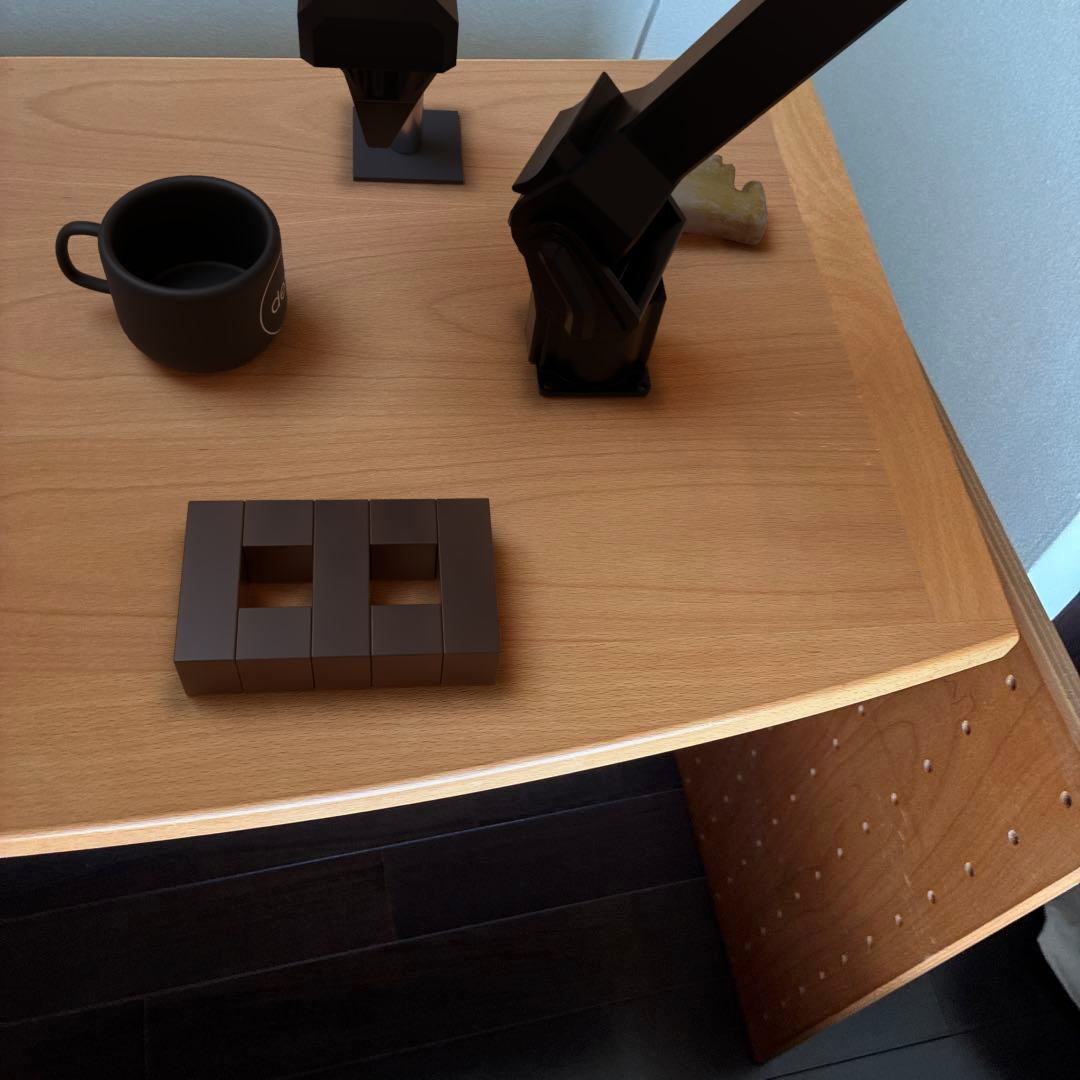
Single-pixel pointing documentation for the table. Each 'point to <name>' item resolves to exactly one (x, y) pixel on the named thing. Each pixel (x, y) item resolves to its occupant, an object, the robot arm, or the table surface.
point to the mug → (189, 271)
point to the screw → (411, 131)
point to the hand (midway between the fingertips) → (377, 85)
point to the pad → (414, 154)
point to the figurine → (721, 203)
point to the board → (336, 595)
